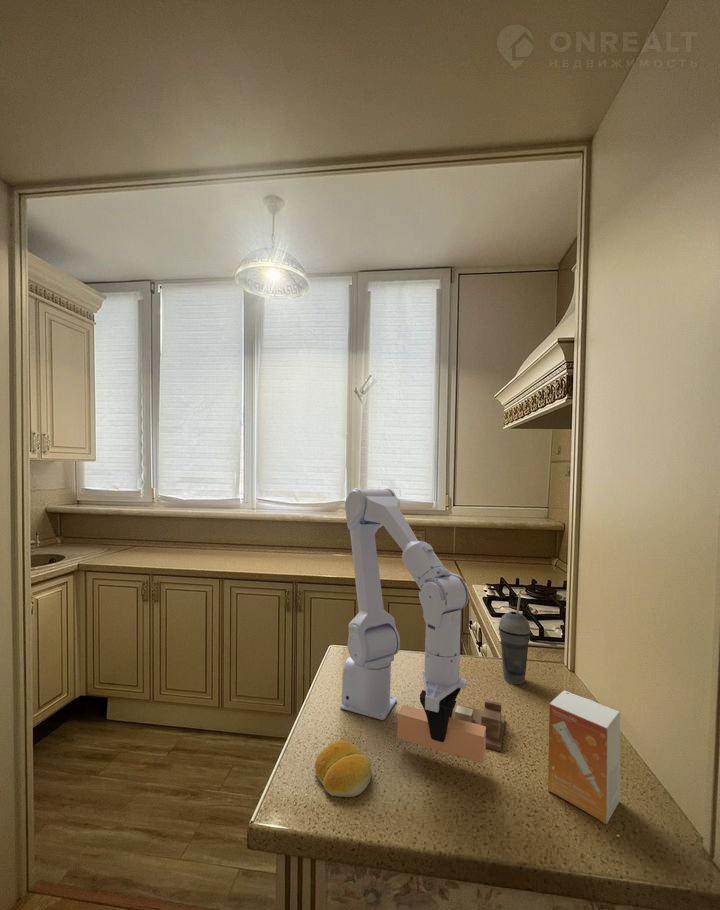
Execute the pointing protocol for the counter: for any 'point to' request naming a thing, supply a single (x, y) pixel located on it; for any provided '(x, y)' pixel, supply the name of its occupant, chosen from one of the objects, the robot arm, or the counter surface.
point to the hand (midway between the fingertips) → (440, 733)
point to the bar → (459, 736)
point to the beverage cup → (514, 645)
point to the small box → (584, 754)
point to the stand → (484, 721)
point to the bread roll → (343, 769)
